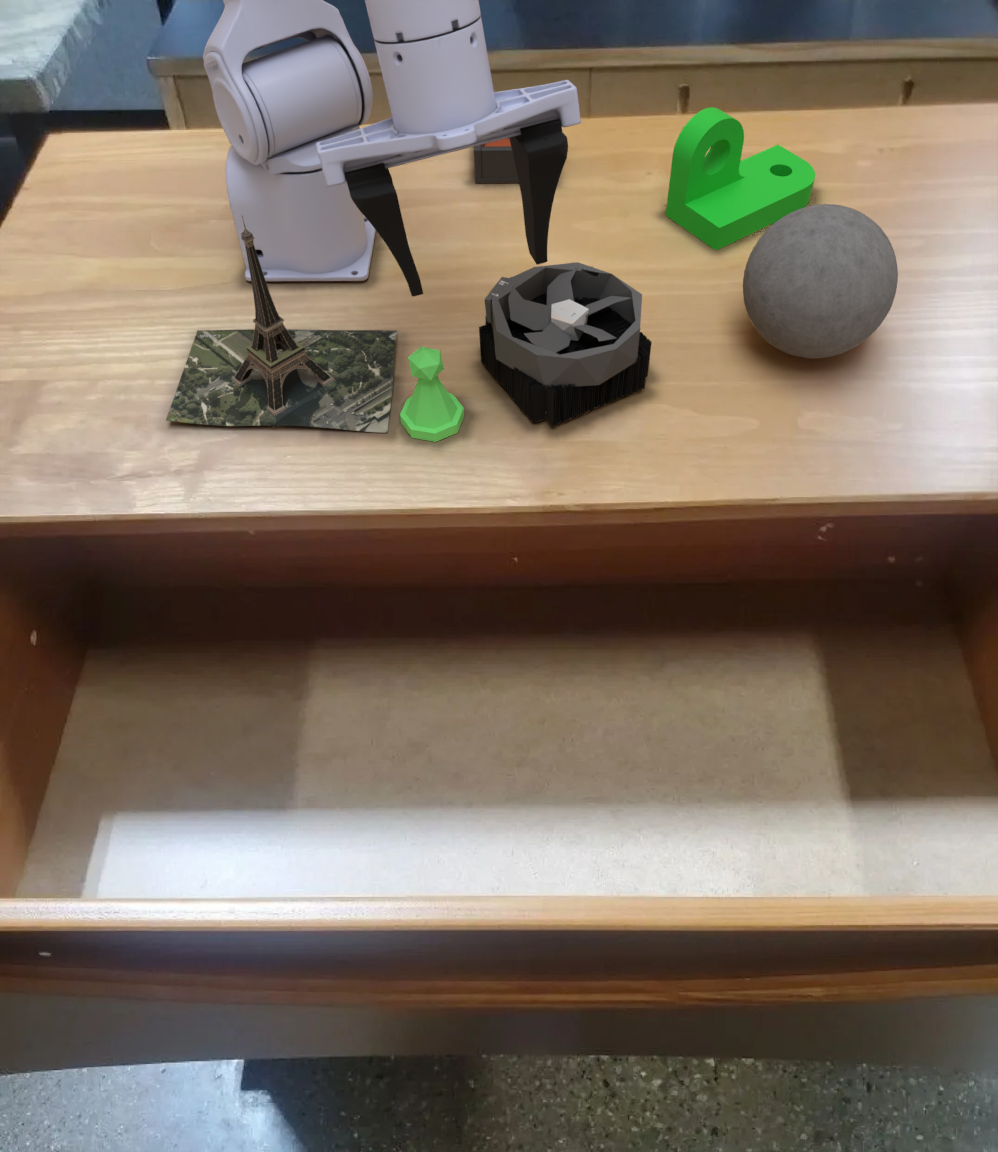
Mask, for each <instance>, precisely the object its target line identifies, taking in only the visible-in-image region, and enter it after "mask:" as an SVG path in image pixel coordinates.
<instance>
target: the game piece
mask: <svg viewBox="0 0 998 1152" xmlns="http://www.w3.org/2000/svg"><path fill="white" fill-rule="evenodd" d="M407 360H408V365H409V369H410V373H411V377H412V378H418V379H417V382H416V384H415V387H414V390H413V393H412V396H409V397H407V398H406V400H405V403H404V405H403V406H402V409H401V411H400V413H399V419H400V424H401V425H402V426H403V427H404V430H405V431H406V432H407V433H408V435H409V436H410V437H411V438H412V439H417V440H423V441H428V442H434V443H436V442H439V441H441V440H443V439H444V440H445V439H446V438H449V437H451V436H454V435H455V434H458V433H459V430H460V428H461V425H462V423H463V421H464V419H465V407H464V406H463V405H462V404H461V402H460V401H459V400H458V399H457V398H456V396H455V395H454V394H453V393H451V392H448V390H447V389H446V387H445V386H444V384H443V383H442V381H441V379H440V378H439V376H438V375H440V373H442V372H443V371H444V370H445V367H444V361H443V356H442V352H441V350H440V349H435V348H431V347H426V346H419V348H417V349H416V350H415V351H413V352H412V353H411V354H410V355H409V356H408V357H407Z"/></svg>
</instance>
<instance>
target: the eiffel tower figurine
mask: <svg viewBox="0 0 998 1152" xmlns="http://www.w3.org/2000/svg"><path fill="white" fill-rule="evenodd" d="M242 220H243V224H244V228H245V229H244V231H243V232H242V233H241V236H242V237H241V239H242V240H243V241H244V244H245V248H246V253H247V259H248V264H249V270H250V276H251V281H250V283H251V287H252V293H253V294H252V295H253V302H254V310H255V311H254V312H255V313H254V314H255V315H254V319H252V323H254V329H206V330H205V329H198V330H196V334H195V336H194V339H193V342H192V345H191V348H190V351H189V353H188V357H187V359H186V362H185V364H184V368H183V370H182V373H181V376H180V379H179V382H178V385H177V388H176V390H175V394H174V396H173V399H172V402H171V405H170V406H169V409H168V413H167V416H166V419H165V421H166V422H175V423H185V424H194V425H195V424H196V425H206V426H218V427H219V426H220V427H252V426H254V427H255V426H257V427H261V426H270V427H272V428H273V429H274V428H277V426H281V427H282V426H283V427H284V426H285V427H308V428H309V427H310V428H321V429H335V430H343V431H344V430H345V431H355V432H364V433H365V432H367V433H380V434H388V432H389V431H388V430H389V423H390V413H391V406H392V405H391V404H392V396H393V387H394V386H393V385H394V368H395V367H394V366H395V352H396V344H397V334H398V330H392V329H391V330H388V329H361V330H359V329H356V330H354V329H352V330H351V329H347V330H345V329H340V330H339V329H338V330H337V329H287V328H286V326H285V324H284V322H285V319H284V318H283V317H281V316H280V314H279V312H278V310H277V308H276V305H275V303H274V300H273V298H272V296H271V292H270V290H269V287H268V284H267V281H266V280H265V278H264V275H263V271H262V268H261V265H260V262H259V259H258V256H257V253H256V250H255V247H254V242H253V240H254V237H253V234H252V233H251V232H249V231H248V230H247V229H246V227H245V223H244V219H243V215H242Z"/></svg>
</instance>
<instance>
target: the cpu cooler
mask: <svg viewBox="0 0 998 1152" xmlns="http://www.w3.org/2000/svg"><path fill="white" fill-rule="evenodd" d="M642 302H643V294H642V293H641V292H639V291H638V290H636V289H635V288H633V287H632V286H631V285H629V284H628V283H626V282H625V281H623V280H622V279H620V278H619V277H618V276H616V275H615V274H613V273H610V272H608V271H605V270H601V269H599V268H596V267H593V266H590V265H587V264H584V263H581V262H568V263H558V264H548V265H539V266H533V267H531V268H529V269H527V270H525V271H523V272H520V273H518V274H516V275H514V276H510V277H507V276H506V277H505V276H501V277H500V279H499V280H498V281H497V282H496V284H495V285H494V286H493V288H491V290H490V291H489V293H488V294H487V295H486V296H485V298H484V307H485V324H484V325H481V326H478V334H479V348H480V350H479V352H480V362H481V363H482V365H484V366H483V367H485V369H486V370H487V371H488V372H489V374H490V375H492V377H493V378H494V379H495V380H496V382H497V383H498V384H499V385H500V386H501V387H502V389H503V390H504V391H505V392H506V393H507V394H508V395H509V397H510V398H511V399H512V400H513V402H514V403H515V404H516V405H517V406H518V407H519V409H520V410H522V412H523V413H524V414H525V415H526V416H527V418H528V419H529V420H530V421H532V423H533V424H535V423H539V422H542V421H545V420H546V421H547V422H548V423H549V425H550V426H551V428H554V427H556V426H558V425H560V424H561V423H566V422H569V421H570V420H573V419H576V418H577V417H581V416H583V415H585V414H588V413H589V412H592V411H595V410H596V409H599V408H602V407H604V406H605V404H606V405H608V404H611V403H613V402H615V401H618V400H621V399H623V398H625V397H628V396H630V395H632V394H634V393H637V392H640V391H642V390H645V386H646V378H648V376H649V367H650V359H651V351H652V340H650V339H649V338H648V337H647V335H646V334H644V333H643V331H641V321H642V304H643V303H642Z"/></svg>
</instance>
